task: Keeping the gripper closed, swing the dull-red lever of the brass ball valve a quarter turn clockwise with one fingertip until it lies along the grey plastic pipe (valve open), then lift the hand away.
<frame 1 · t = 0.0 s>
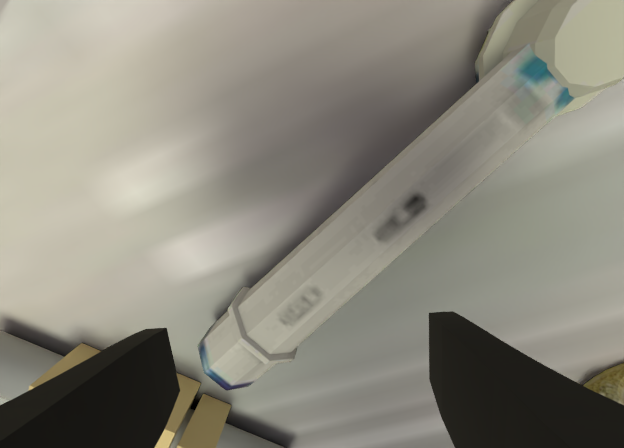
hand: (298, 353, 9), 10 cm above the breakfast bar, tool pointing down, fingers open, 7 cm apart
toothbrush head: (379, 197, 19), on the breakfast bar
valve pipe: (147, 398, 22), on the breakfast bar
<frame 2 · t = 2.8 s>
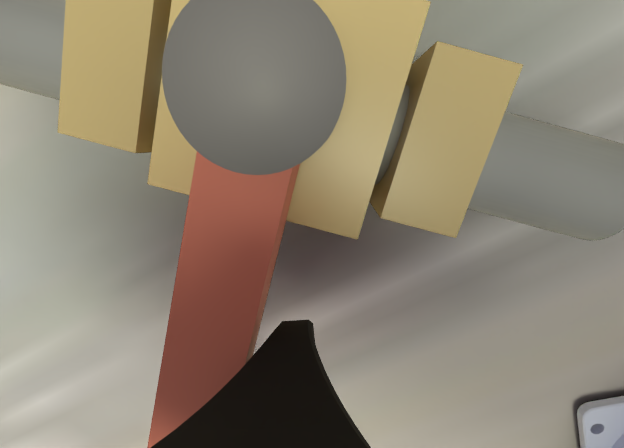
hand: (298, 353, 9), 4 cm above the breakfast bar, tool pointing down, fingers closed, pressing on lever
lever: (222, 303, 8), point 5 cm above the breakfast bar, hinge at 0.0°, touching gripper
valve pipe: (293, 113, 12), on the breakfast bar
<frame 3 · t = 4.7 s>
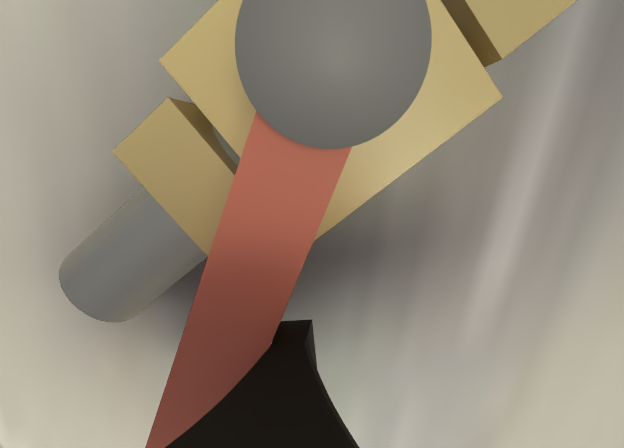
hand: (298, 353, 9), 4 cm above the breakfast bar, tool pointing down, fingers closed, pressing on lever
lever: (250, 281, 7), point 5 cm above the breakfast bar, hinge at -60.4°, touching gripper
valve pipe: (328, 98, 11), on the breakfast bar
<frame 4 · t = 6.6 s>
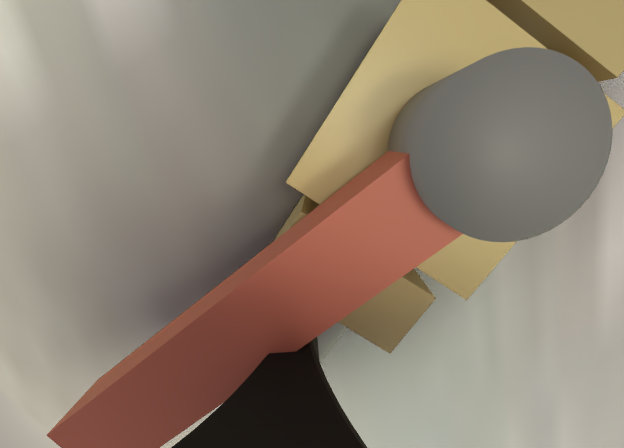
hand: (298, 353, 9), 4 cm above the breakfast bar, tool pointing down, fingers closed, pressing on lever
lever: (289, 290, 7), point 5 cm above the breakfast bar, hinge at -107.9°, touching gripper
valve pipe: (408, 146, 11), on the breakfast bar
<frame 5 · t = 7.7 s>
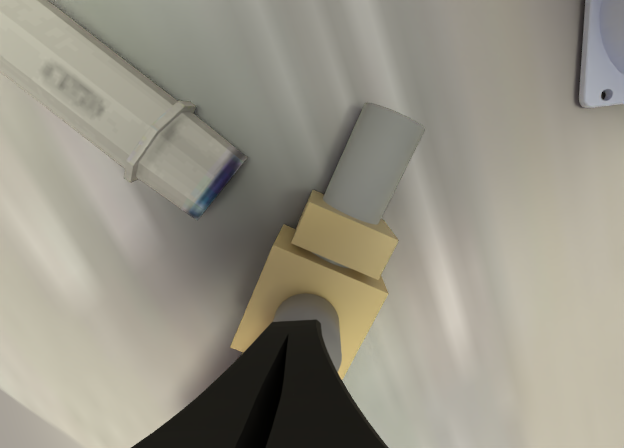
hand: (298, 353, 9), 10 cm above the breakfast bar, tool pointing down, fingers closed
lever: (243, 412, 15), point 5 cm above the breakfast bar, hinge at -102.9°
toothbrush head: (40, 21, 17), on the breakfast bar
valve pipe: (310, 286, 19), on the breakfast bar
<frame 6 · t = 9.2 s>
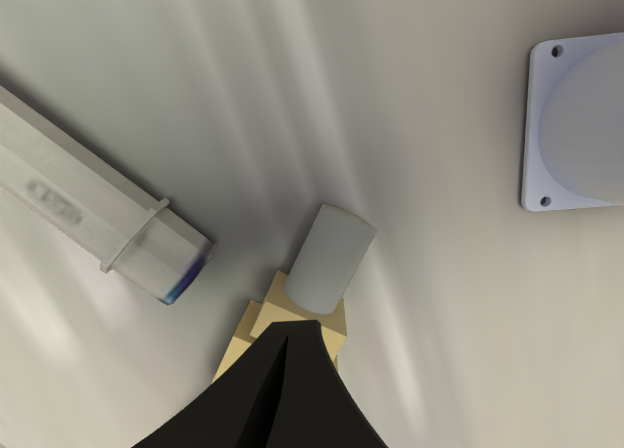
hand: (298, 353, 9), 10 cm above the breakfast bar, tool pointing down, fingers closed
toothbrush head: (30, 112, 18), on the breakfast bar
valve pipe: (275, 354, 20), on the breakfast bar
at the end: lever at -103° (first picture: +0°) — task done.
